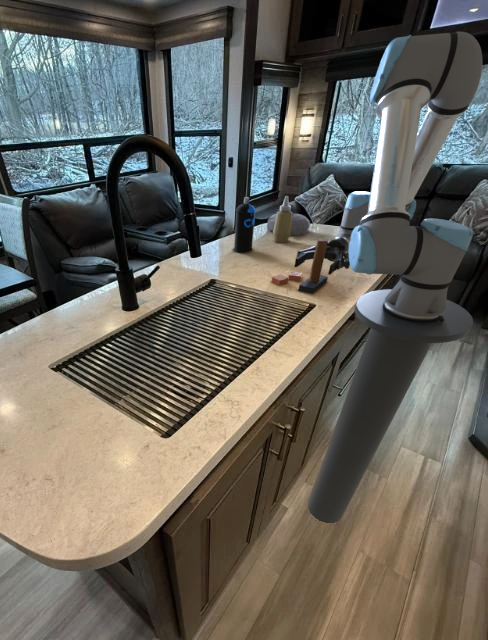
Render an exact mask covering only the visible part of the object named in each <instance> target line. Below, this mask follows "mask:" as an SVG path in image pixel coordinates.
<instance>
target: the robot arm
mask: <svg viewBox="0 0 488 640" xmlns="http://www.w3.org/2000/svg"><path fill="white" fill-rule="evenodd" d="M482 72H483V53H482V48H481V46H480V43H479V42H478V40H477V39H476V37H475V36H474V35H472V34H470V33H469V32H465V31H454V32H443V33H433V34H421V35H412V34H409V35H407V36H401V37H395V38H393V39H392V40H391V41H390V42H389V43H388V44H387V47H386V48H385V49H384V52H383V55H382V57H381V60H380V62H379V66H378V67H377V71H376V74H375V77H374V81H373V84H372V87H371V91H370V96H369V102H370V103H371V104H373V105H375V104H376V108H375V114H376V116H377V117H378V119H380V125H379V132H378V139H377V145H376V152H375V159H374V165H373V172H372V180H371V186H370V192H369V191H353V192H351V193H349V194H348V196H347V199H346V201H345V205H344V208H343V209H344V210H343V215H342V219H341V224H340V227H339V231H338V234H337V235H336V236H335V237H334V238H332V239H330V240H328V243H327V247H326V252H325V256H324V260H327V261H328V262H332V263H331V264H330V265H329V268H328V272H327V273H328V274H327V275H332V274H333V273H334V272H335V271H338V270H340V269H343V268H344V269H346V270H348V269H350V268H351V270H352V271H353V272H354V273H356V274H367V275H397V276H398V275H399V276H400V278H399V281H398V282H397V283H396V284H395V285H394V286H393V288H392V289H393V290H392V291H391V292H390V293H389V295H388V296H387V297H386V298H385V301H384V303H383V309H384V310H385V311H386V312H387V313H389V314H390V315H392V316H394V317H396V318H399V319H402V320H406V321H411V322H420V323H427V322H434V321H437V320H439V321H440V322H443V321H445V320H444V319H443V318H442V316H443V314H444V312H445V307H446V299H447V297H448V296H447V295H448V288H449V286H450V285H451V283H452V281H453V279H454V276H455V275H456V272H457V270H458V268H459V266H460V265H461V262H462V261H463V258H464V257H465V254H466V253H467V252H468V250H469V247H470V244H471V242H472V239H473V236H474V231H473V230H472V229H471V228H470V227H468V226H467V225H464V224H461V223H458V222H455V221H451V220H446V219H441V218H432V217H431V218H424V219H423V220H422V221H421V223H420V225H419V226H414V225H411V224H410V223H411V220H412V218H413V217H414V214H415V212H416V208H417V201H416V199H415V197H416V195H417V194H418V191H419V189H421V186H422V184H423V182H424V180H425V178H426V176H427V175H428V173H429V171H430V170H431V168H432V166H433V164H434V162H435V160H436V158H437V157H438V154H439V153H440V151H441V150H442V147H443V145H444V144H445V142H446V141H447V138H448V136H449V134H450V133H451V131H452V130H453V127H454V125H455V124H456V122H457V120H458V118H459V117H460V115H463V114H464V113H465V112H466V111H467V110H468V108H469V107H470V104H471V103H472V101H473V100H474V97H475V95H476V93H477V91H478V88H479V85H480V82H481V77H482V74H483V73H482ZM426 106H427V109H428V111H427V113H426V115H425V117H424V119H423V122H422V124H421V126H420V119H421V113H422V110H424V108H425V107H426ZM419 126H420V127H419ZM315 249H316V244H315V245H312V246H310V247H307V248H303V249H300V250H297V252H296V258H295V260H294V266H293V267H294V268H298V267H299V266H301V265H303V264H304V263H305V262H306V261H309V260H313V259H314V254H315Z"/></svg>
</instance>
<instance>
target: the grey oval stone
mask: <svg viewBox="0 0 488 640" xmlns="http://www.w3.org/2000/svg"><path fill="white" fill-rule="evenodd" d="M276 216H277V213H274V214H272V215H270V216H269V217H268V219H267V223H266V229H267V231H269V232H272V233H273V230H274V225H275V220H276ZM310 226H311V221H310V220H309V219H308V218H307V217H306V216H305V215H303V214H300V213H297V212H292V224H291V234H290V236H296V235H305V234H307V233H308V231H309V228H310Z"/></svg>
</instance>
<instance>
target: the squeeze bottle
mask: <svg viewBox="0 0 488 640" xmlns="http://www.w3.org/2000/svg"><path fill="white" fill-rule="evenodd" d="M289 201H290V200H289V195H285V196H284V199H283V203H282V204H281V205H279V210H278V211H277V212H276V214H277V216H276V220H275V225H274V230H273V232H272V235H273V241H274V242H275V243H279V244H280V243H281V244H282V243H287V242H288V240H289V238H290V237H291V235H290V234H291V224H292V213H293V211H291V208H292V206H291V205H290V204H289Z"/></svg>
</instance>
